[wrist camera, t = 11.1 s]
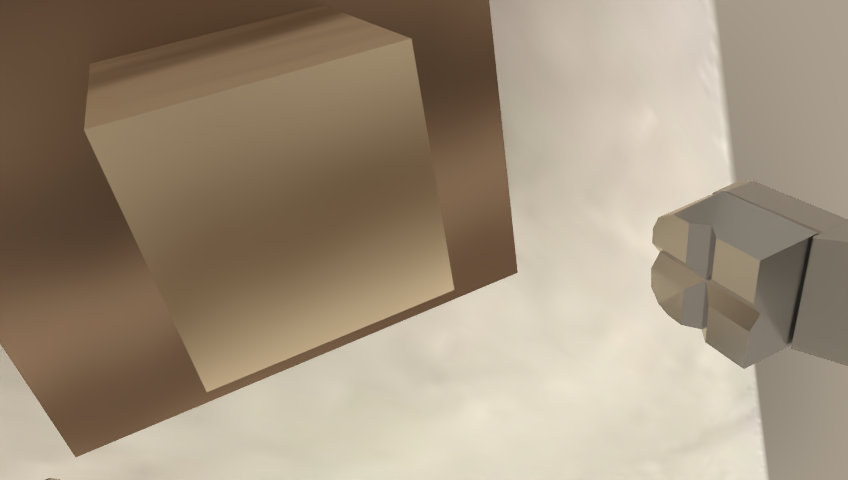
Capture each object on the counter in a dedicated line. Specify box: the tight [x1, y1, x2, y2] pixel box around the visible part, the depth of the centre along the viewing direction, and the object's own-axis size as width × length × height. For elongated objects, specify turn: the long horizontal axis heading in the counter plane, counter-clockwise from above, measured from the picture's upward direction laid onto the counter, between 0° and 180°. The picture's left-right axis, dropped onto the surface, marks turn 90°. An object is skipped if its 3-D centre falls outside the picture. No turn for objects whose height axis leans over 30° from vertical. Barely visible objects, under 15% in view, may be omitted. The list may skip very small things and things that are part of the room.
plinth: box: [0, 0, 517, 457], centre depth 19 cm, size 16×16×4 cm
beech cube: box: [84, 5, 454, 392], centre depth 15 cm, size 6×6×6 cm
